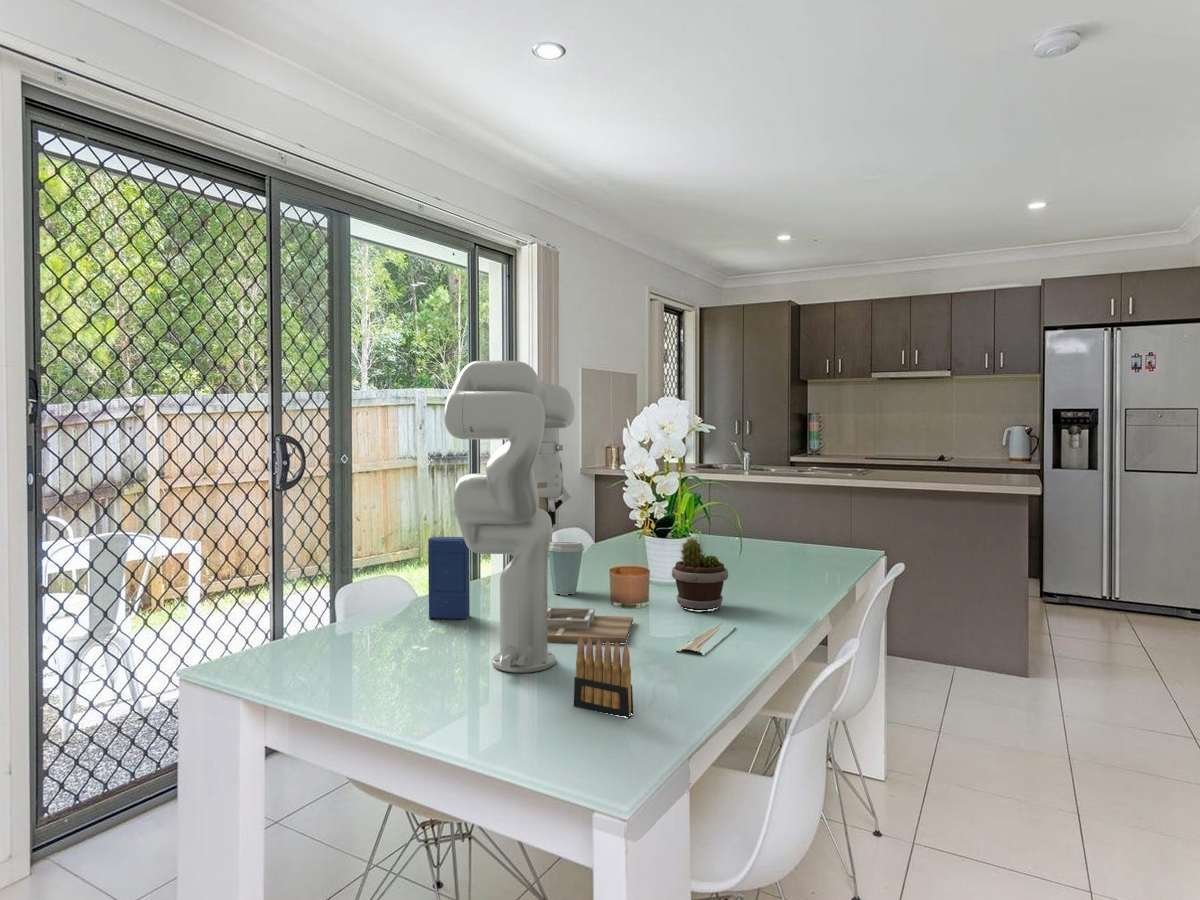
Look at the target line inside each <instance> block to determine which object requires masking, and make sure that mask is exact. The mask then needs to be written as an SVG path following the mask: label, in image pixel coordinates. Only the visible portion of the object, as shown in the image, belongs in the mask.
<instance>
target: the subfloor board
mask: <svg viewBox="0 0 1200 900" xmlns="http://www.w3.org/2000/svg"><path fill="white" fill-rule="evenodd" d="M632 622H633V623H634V616H615V615H596V614H595V608H586V607H585V608H583V607H582V608H581V607H557V606H555V607H551V606H548V643H564V642H568V643H570V644H578V641H579V638H580V636H581V637H582V639H583V643H584V644H587V642H588V639H589V638H591V641H592V643H597V641H598V639H599V640H600V642H601V643H606V642H607V641H609V643H614V644H616V642H617V643H618V644H620V643H626V644H627V642H626V640H627V641H628V639H627V637H628V638H629V636H628V634H629V635H630V633H629V631H630V632H631V630H630V628H631V629H632V627H631V625H632V626H633V624H632Z"/></svg>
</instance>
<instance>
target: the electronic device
mask: <svg viewBox="0 0 1200 900" xmlns="http://www.w3.org/2000/svg"><path fill="white" fill-rule="evenodd" d="M427 541H428V546H427V547H428V548H427V550H428V554H427V555H428V556H427V557H428V558H427V559H428V561H427V562H428V619H429V618H434V620H462V619H465V620H466V619H468V618H469V617H470V615H471V613H470V605H471V604H470V550H469V549H468V547H467V545H466V543H465V541H464V538H463V536H431V537H429V538H427Z"/></svg>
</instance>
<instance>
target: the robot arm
mask: <svg viewBox="0 0 1200 900" xmlns="http://www.w3.org/2000/svg"><path fill="white" fill-rule="evenodd" d="M443 417H444V424H445V428H446V431H447V432H448V433H449V434H450V435H451V436H452V437H454V438H456V439H458V440H459V439H460V440H506V442H505V443H504V444H502V445H501V446H500V447H499V448H498V449H497V450H496V451H495V452H494V453H493V455H492V456H491V457H490V458H489V460H488V461H487V464H486V467H485V473H468V474H465V475H463V476H462V477H460V479H458V481H457V482H456V484H455V487H454V492H453V509H454V514H455V517H456V521H457V523H458V526H459V529H460V532H461V534H462V537H463V538H464V541H465V543H466V545H467V547H468V549H469V552H470V551H471V552H472V553H474V554H480V555H481V554H483V555H510V556H512V558H511V560H510V562H509V563H508V564H506V566H505V567H504V569H502V572H501V574H500V579H499V622H500V623H499V636H500V639H499V646H500V649H499V652H497V653H496V654H495V655H494V656H492V665H493V668H496V669H498V670H500V671H503V672H508V673H517V674H518V673H526V674H527V673H533V672H535V673H536V672H541V671H544V670H546V669H549V668H551V667H552V666H554V665H555V663H556V655H555V654H554V653H553V652H551V651H550V650H549V649H548V646H549V644H548V643H549V642H548V607H549V606H548V597H549V596H548V588H549V587H548V573H549V571H548V570H549V569H548V568H549V547H550V542H551V538H552V533H553V532H552V531H553V528H554V526H555V525H556V524H557V523H556V519H557V518H556V517H557V516H556V515H557V514H556V513H557V512H556V511H557V509H559V508H560V507H561V506H562V505H563V504H564V503H566V502H568V501H569V500H570V499H571V495H570V493H569V491H568V490H567V489H566V487H565V485H564V474H563V473H564V472H563V463H562V462H563V461H562V457H561V455H558V452H561V451H564V445H563V444H559V443H558V442H557V441H558V432H557V431H558V429H566V428H569V427H570V426H571V425H572V423H573V421H574V418H575V404H574V401H573V397H572V395H571V393H570V391H569V389H567V388H565V387H563V386H561V385H558V384H554V383H552V382H551V383H550V382H548V381H545V380H541V379H540V378H539V376H538V374H537V373H536V371H535V369H534V368H533V367H532V366H530V365H529V364H527V363H526V362H522V361H518V360H475V361H471V362H470V363H467V365H465V367H464V368H463V369H462V370H461V371H460V373H459V374H458V376H457V378H456V380H455V382H454V384H453V386H452V389H451V391H450V393H449V394H448V397H447V400H446V402H445V407H444V414H443ZM538 482H547V486H548V487H547V488H540V489H538V488H537V485H538ZM561 496H562V497H561ZM559 497H561V498H560V499H558V500H556V498H559ZM539 498H548V506H549V512H548V513H547V512H546V511H544V510H543V509H540V508H538V507H539Z"/></svg>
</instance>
